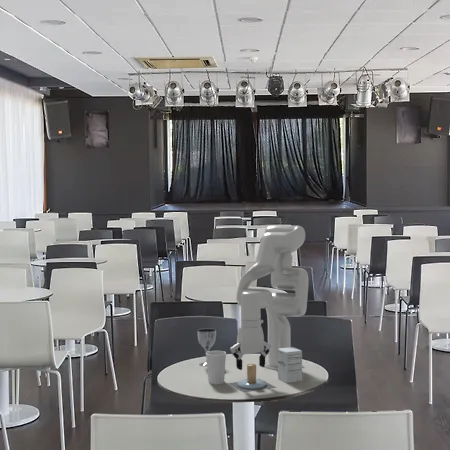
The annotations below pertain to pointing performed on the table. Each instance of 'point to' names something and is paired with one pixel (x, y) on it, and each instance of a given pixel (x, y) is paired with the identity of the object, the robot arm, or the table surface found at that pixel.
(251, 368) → the lid
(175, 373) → the table surface
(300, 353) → the supplement box
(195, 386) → the table surface
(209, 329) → the wine glass
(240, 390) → the mat
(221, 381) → the cup
